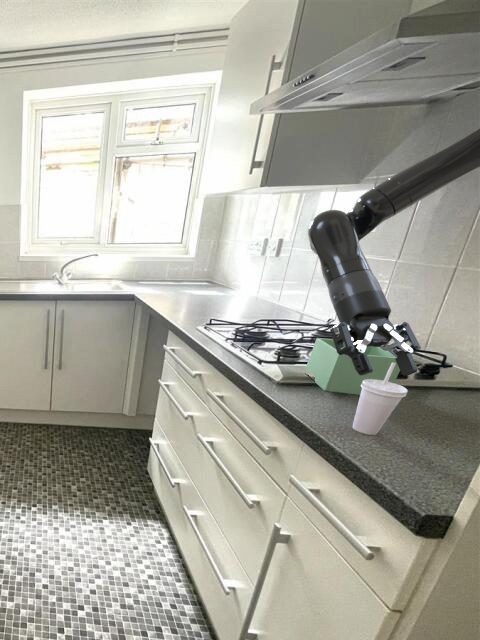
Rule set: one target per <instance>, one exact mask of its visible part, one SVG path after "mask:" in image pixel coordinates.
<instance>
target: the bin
mask: <svg viewBox="0 0 480 640" xmlns="http://www.w3.org/2000/svg"><path fill="white" fill-rule="evenodd" d="M343 346H345V343H344V342H343ZM364 353H366V354H367V356H368V358H369V361H370V363H371V366H372V368H373V372H372V373H369V374H367V375H359V374H358V372H357V371H356V370H355V367H354V365H353V362H352V359H351V358H349V357H348V356H347V355H345V354H343V355H339V354H338V353H337V351H336V347H335V344H334V341H333V338H322V337H316V339H315V341H314V344H313V347H312V349H311V352H310V355H309V358H308V361H307V364H306V366H305V369H307V370H308V371H309V372H310V373H312V374H313V376H314V377H315V382H314V383H315V384H316V385H317V386H319V387H320V388H321V390H323V391H324V392H331V393H340V394H347V395H348V394H349V395H359V396H360V394H361V390H362V387H361V384H362V382H363V380H366V379H375V380H383V381H384V379H385V377H386V374H387V372H388V370H389V368H390V366H391V363H396V364H395V366H394V369H393V371H392V373H391V375H390V377H389V380H388V382H391V383H395V382H396V380H397V378H398V376H399V373H400V372H401V371H400V369H399V367H398V364H397V362H396V360H395V358H396V357H395V356H394V355H393V354H391V353H390V352H389V351H384V350H382V349H381V348H380V347H374V346H369V347H366V350H365V352H364Z"/></svg>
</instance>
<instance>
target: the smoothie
mask: <svg viewBox="0 0 480 640" xmlns="http://www.w3.org/2000/svg"><path fill="white" fill-rule="evenodd" d="M395 364H396V363H391V366H390V368H389V370H388V372H387V374H386V377H385V379H384V381H383V380H375V379H366V380H363V382H362V384H361V387H362V390H361V394H360V395H359V399H358V402H357V405H356V406H357V407H356V411H355V414H354V419H353V423H352V427H351V428H352V429H353V430H354V431H356V432H358V433H360V434H364V435H370V436H376V435H378V433H379V431H381V429H382V427H384V424H385V423H386V422H387V420H388V419H389V417H390V416H391V415H392V413H393V412H394V410H395V409H396V407H397V406H398V405H399V403H400V402H401V400H402V398H405V397H406V396H407V394H408V392H409V391H408V389H407V388H406V387H405V386H403V385H400V384H398V383H395V382H394V383H391V382H388V380H389V377H390V375H391V373H392V371H393V369H394V366H395Z"/></svg>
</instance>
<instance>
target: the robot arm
mask: <svg viewBox="0 0 480 640" xmlns="http://www.w3.org/2000/svg"><path fill="white" fill-rule="evenodd" d="M479 168H480V127H479V128H477V129H475V130H474V131H473V132H471V133H469V134H468V135H466V136H464V137H462V138H460V139H459V140H458V141H455V142H453V143H452V144H450V145H448V146H447V147H444V148H443V149H441V150H439V151H437V152H435V153H433V154H431V155H429V156H427V157H425V158H423V159H421V160H419V161H417V162H416V163H413V164H412V165H410V166H408V167H406V168H403V169H402V170H400V171H398V172H396V173H395V174H393V175H392V176H390V177H388V178H386V179H385V180H384V181H382V182H380V183H379V184H377V185H375V186H374V187H372V188H371V189H369V190H367V191H366V192H364V193H363V194H361V195H360V196H358V198H357V199H356V201H355V203H354V205H353V207H352V208H351V210H349V211H348V212H347V213H346V212H345V211H342V210H339V209H329V210H325V211H322V212H320V213H318V214H317V215H316V216H315V217H314V218H312V219H311V221H310V223H309V225H308V228H307V237H308V242H309V247H310V250H311V251H312V252H313V253H314V254H315V255H317V257H318V259H319V263H320V270H321V274H322V277H323V280H324V282H325V285H326V287H327V290H328V295H329V300H330V301H331V305H332V307H333V309H334V312H335V314H336V318H337V320H338V322H339V323H337V324H336V325H334V326H332V327H330V328H329V331H330V334H331V335H330V336H331V337H332V338H331V339H333V341H334V344H335V347H336V351H337V353H338V354H339V355H343V354H345V355H347V356H348V357H349V358H351V359H352V362H353V365H354V367H355V370H356V371H357V372H358V374H359V375H367V374H369V373H372V372H373V368H372V366H371V363H370V361H369V358H368V356H367V354H366V353H364V352H365V350H366V347H369V346H374V347H380V348H381V349H382V350H384V351H389V352H390V353H391V354H393V355H394V356H395V357H396V358H395V360H396V362H397V364H398V367H399V369H400V371H399V372H400V373H401V375H402V376H411V375H413V374H416V373H417V372H418V366H417V363H416V361H415V358H414V357H413V353H414V352H417V351H419V350H421V349H422V346H421V345H420V343H419V341H418V339H417V337H416V335H415V333H414V332H413V329H412V328H411V326H410V323H408V322H407V321H403V322H401V323H399V324H393V323H392V322H391V321H390V319H389V318H390V315H391V313H392V308H391V307H390V304H389V302H388V300H387V298H386V295H385V293H384V291H383V288H382V287H381V284H380V282H379V280H378V279H377V278H376V276H375V274H374V273H373V272H372V269H371V265H369V261H368V260H367V258H366V256H365V254H364V252H363V250H362V248H361V245H360V241H361V240H362V239H364V238H365V237H366V236H367V235H369V234H370V233H372V232H373V231H374V230H375V229H376V228H377V227H378V226H380V225H381V224H382V223H384V222H385V221H388V220H390V219H391V218H393V217H395V216H397V215H398V214H400V213H402V212H403V211H405V210H407V209H409V208H410V207H412V206H414V205H416V204H417V203H419V202H420V201H423V200H424V199H425V198H428V197H429V196H431V195H433V194H434V193H436V192H437V191H439V190H441V189H443V188H445V187H446V186H448V185H450V184H452V183H453V182H455V181H457V180H459V179H461V178H462V177H465V176H466V175H468V174H469V173H472V172H473V171H475V170H477V169H479ZM391 340H393V341H391ZM343 342H344V343H345V346H343ZM407 343H409V345H408V344H407ZM397 348H399V349H397Z"/></svg>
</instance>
